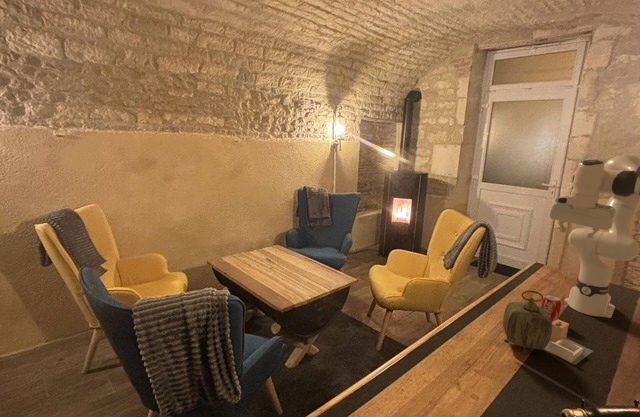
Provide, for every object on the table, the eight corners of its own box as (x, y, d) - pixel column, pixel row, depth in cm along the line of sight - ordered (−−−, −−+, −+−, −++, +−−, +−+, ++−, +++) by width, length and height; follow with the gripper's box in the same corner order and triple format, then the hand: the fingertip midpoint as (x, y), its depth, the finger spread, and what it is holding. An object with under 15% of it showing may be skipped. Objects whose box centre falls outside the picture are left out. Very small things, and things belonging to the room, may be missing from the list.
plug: (554, 334, 137) (558, 317, 135) (565, 339, 134) (569, 322, 132) (547, 338, 134) (551, 321, 132) (558, 343, 131) (562, 326, 129)
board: (537, 327, 144) (537, 325, 143) (592, 353, 127) (593, 350, 127) (517, 338, 135) (518, 336, 135) (574, 367, 119) (574, 365, 119)
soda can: (560, 327, 144) (565, 302, 142) (542, 324, 146) (547, 300, 143) (552, 318, 151) (557, 294, 148) (535, 316, 152) (540, 292, 150)
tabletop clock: (540, 348, 129) (552, 289, 124) (547, 362, 121) (560, 300, 116) (499, 339, 134) (509, 283, 128) (503, 353, 126) (514, 293, 120)
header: (560, 343, 131) (562, 335, 130) (581, 354, 125) (584, 344, 124) (549, 351, 126) (551, 342, 125) (570, 362, 120) (573, 352, 119)
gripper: (619, 206, 123) (611, 241, 126) (558, 196, 140) (552, 227, 143) (613, 207, 120) (604, 243, 123) (551, 197, 137) (545, 229, 140)
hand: (576, 235), depth 133 cm, fingers open, 8 cm apart
